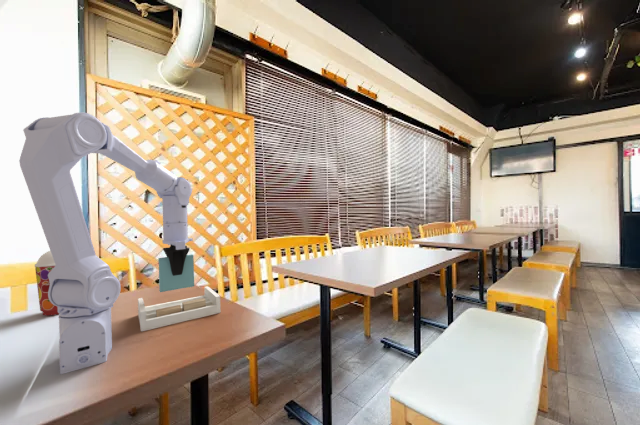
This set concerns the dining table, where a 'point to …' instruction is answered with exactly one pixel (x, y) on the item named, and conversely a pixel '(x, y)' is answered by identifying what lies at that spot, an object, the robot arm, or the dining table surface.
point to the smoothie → (45, 283)
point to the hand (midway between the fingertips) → (176, 274)
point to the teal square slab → (177, 281)
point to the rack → (151, 321)
